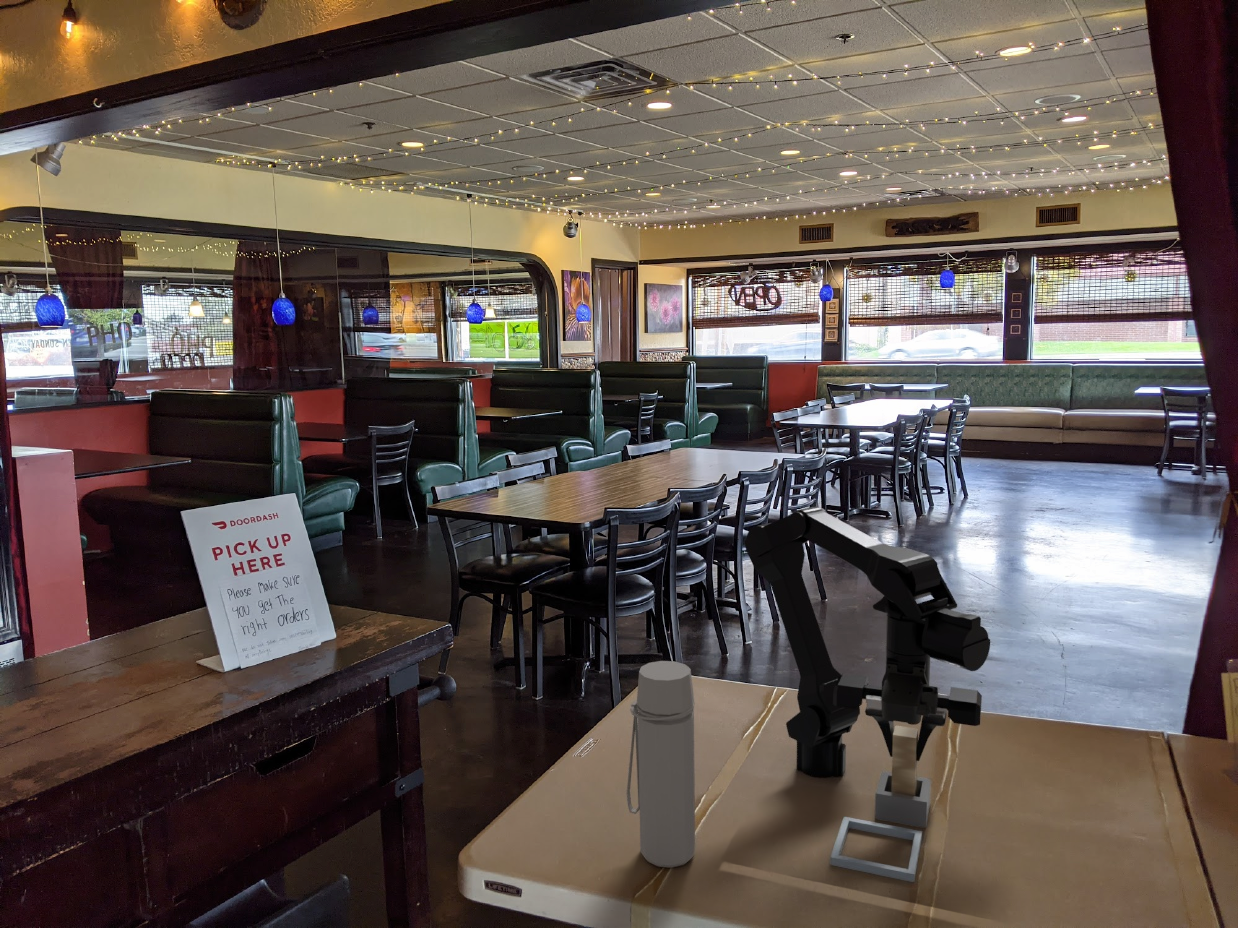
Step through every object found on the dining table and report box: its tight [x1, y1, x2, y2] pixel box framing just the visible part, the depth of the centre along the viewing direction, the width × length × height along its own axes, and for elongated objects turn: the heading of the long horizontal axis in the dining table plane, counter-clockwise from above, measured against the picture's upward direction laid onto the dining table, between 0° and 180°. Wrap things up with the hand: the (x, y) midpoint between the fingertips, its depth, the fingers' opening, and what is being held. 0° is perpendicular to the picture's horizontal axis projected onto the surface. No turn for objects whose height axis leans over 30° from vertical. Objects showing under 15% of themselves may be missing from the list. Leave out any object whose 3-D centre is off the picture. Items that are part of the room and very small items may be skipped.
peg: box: [891, 725, 919, 797], centre depth 126 cm, size 3×3×10 cm
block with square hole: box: [874, 770, 932, 829], centre depth 127 cm, size 7×7×4 cm
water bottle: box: [626, 660, 696, 868], centre depth 118 cm, size 9×8×25 cm
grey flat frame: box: [829, 816, 923, 883], centre depth 118 cm, size 10×10×2 cm
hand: (904, 757), depth 125 cm, fingers closed on peg, 3 cm apart
